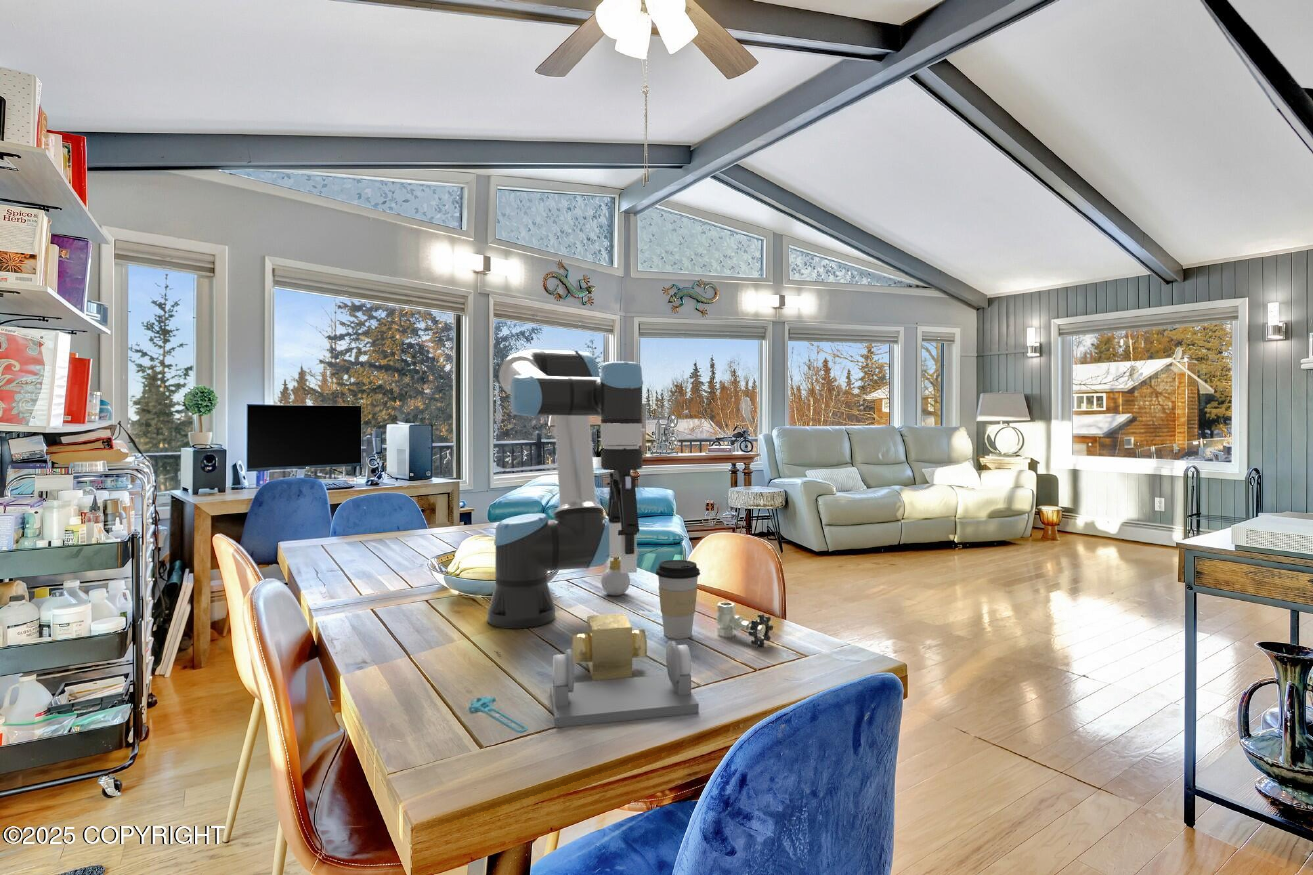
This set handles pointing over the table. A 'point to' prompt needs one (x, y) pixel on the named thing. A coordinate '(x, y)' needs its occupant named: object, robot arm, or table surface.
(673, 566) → the coffee cup
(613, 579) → the perfume bottle
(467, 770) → the table surface
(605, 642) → the brass gate valve
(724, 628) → the valve
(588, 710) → the pipe run plate
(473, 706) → the adjustable wrench
